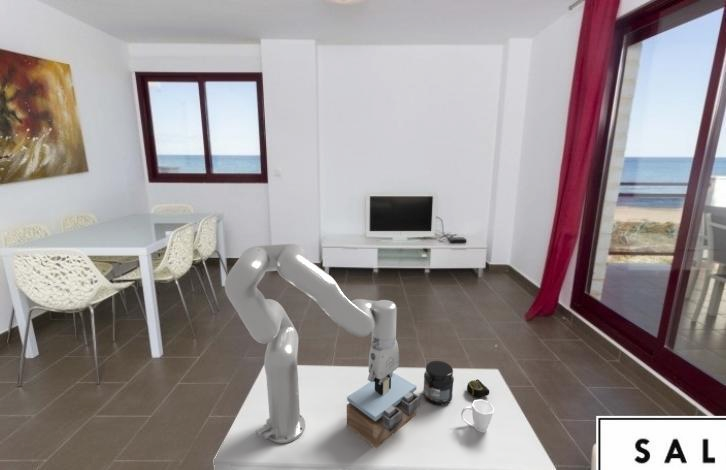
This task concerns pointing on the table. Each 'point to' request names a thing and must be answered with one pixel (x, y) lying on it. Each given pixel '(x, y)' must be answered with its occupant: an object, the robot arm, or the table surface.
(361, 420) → the cabinet
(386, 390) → the door
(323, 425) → the table surface
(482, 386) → the tape measure
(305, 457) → the table surface
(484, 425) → the cup
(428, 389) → the supplement container
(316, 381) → the table surface
